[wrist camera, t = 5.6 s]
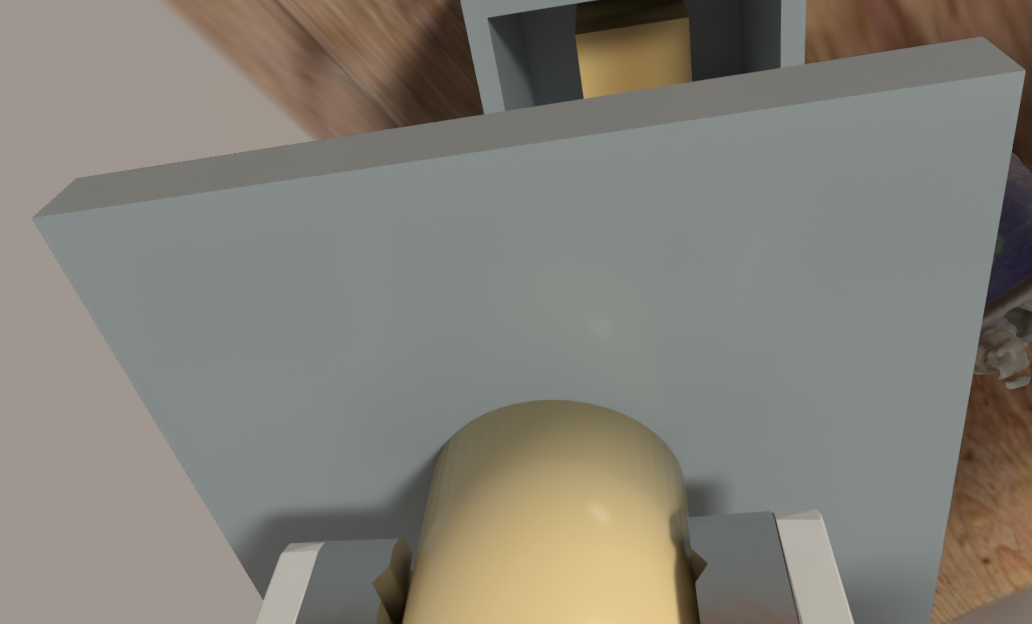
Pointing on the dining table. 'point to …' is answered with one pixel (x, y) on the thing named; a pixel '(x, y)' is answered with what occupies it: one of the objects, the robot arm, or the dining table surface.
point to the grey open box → (554, 58)
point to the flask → (1010, 285)
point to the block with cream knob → (576, 330)
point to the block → (632, 45)
